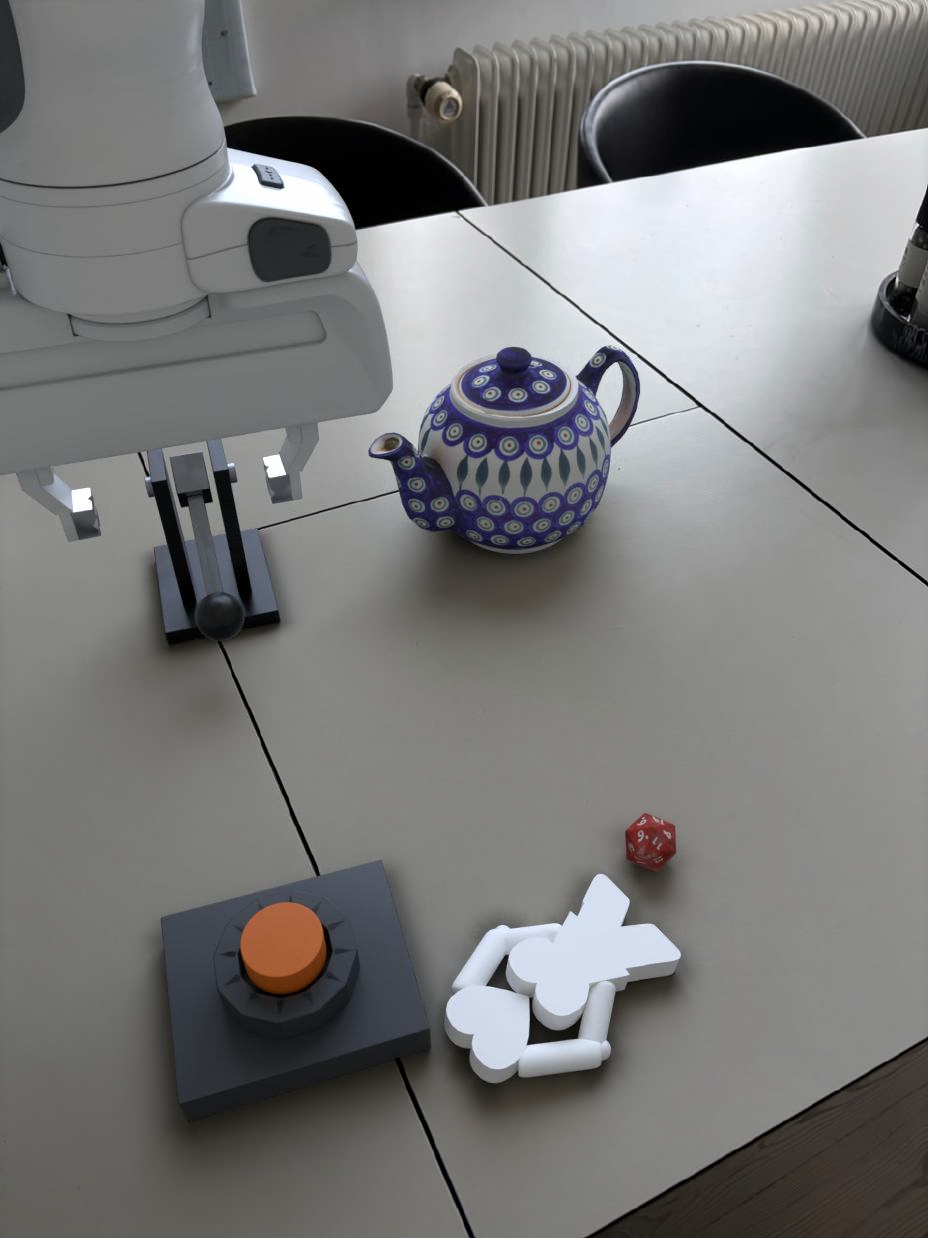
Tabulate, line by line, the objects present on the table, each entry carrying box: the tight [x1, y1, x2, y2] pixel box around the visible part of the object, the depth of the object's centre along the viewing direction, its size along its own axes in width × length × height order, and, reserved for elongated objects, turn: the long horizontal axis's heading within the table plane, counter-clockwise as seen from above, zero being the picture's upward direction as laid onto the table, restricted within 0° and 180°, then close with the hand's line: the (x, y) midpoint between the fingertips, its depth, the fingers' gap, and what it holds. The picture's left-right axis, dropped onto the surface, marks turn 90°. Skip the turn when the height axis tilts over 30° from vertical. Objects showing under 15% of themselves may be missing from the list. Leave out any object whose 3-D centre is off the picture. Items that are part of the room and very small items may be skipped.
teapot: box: [367, 345, 641, 555], centre depth 77 cm, size 25×15×15 cm, turn 122°
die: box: [624, 812, 677, 873], centre depth 57 cm, size 3×3×3 cm
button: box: [240, 902, 326, 994], centre depth 49 cm, size 4×4×2 cm
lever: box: [169, 451, 245, 642], centre depth 67 cm, size 13×3×3 cm, turn 17°
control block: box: [160, 859, 432, 1123], centre depth 51 cm, size 12×10×4 cm
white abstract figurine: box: [443, 873, 682, 1084], centre depth 52 cm, size 9×12×2 cm
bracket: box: [143, 439, 281, 646], centre depth 71 cm, size 10×8×12 cm
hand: (187, 513), depth 48 cm, fingers open, 8 cm apart
